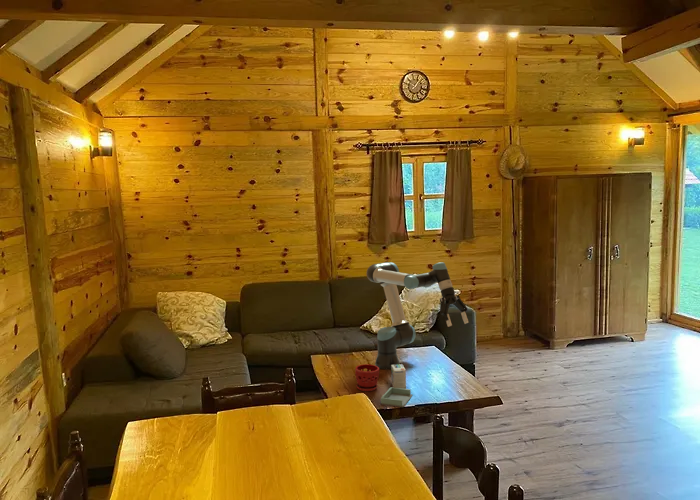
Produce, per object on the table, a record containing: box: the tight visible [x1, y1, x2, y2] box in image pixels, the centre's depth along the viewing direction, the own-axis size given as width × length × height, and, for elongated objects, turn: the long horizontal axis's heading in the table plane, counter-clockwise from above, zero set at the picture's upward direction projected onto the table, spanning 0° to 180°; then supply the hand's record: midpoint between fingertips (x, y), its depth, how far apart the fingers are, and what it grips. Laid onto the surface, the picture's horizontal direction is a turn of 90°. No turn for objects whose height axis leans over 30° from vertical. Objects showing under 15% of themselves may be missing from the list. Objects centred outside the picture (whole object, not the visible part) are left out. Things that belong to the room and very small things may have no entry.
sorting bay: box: [380, 386, 413, 408], centre depth 266 cm, size 12×16×3 cm
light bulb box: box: [390, 363, 407, 389], centre depth 285 cm, size 11×7×11 cm, turn 5°
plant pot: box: [354, 363, 380, 392], centre depth 282 cm, size 13×13×12 cm
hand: (458, 324), depth 287 cm, fingers open, 13 cm apart
